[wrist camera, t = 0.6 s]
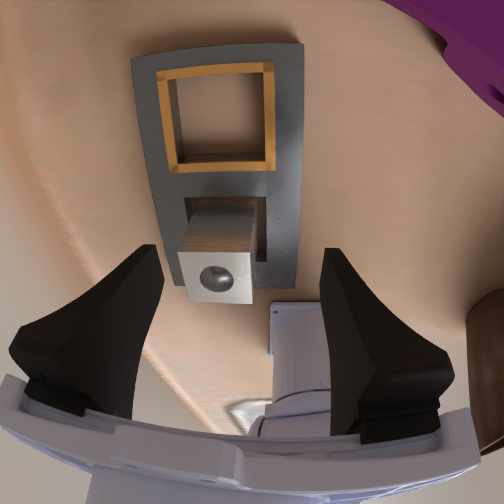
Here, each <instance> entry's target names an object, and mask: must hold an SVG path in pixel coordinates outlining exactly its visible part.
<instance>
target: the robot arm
mask: <svg viewBox="0 0 504 504" xmlns="http://www.w3.org/2000/svg"><path fill="white" fill-rule="evenodd" d="M164 280H165V279H164V275H163V272H162V268H161V264H160V260H159V256H158V253H157V249H156V245H151V244H143V245H142V246H140V247H139V248H138V249H137V250H135V251H134V252H133V253H132V254H131V255H130V256H129V257H127V258H126V259H125V260H124V261H123V262H122V263H121V264H120V265H118V266H117V267H116V268H115V269H114V270H113V271H112V272H111V273H109V274H108V275H107V276H106V277H104V278H103V279H102V280H101V281H100V282H98V283H97V284H96V285H95V286H93V287H92V288H91V289H90V290H88V291H87V292H85V293H84V294H83V295H81V296H80V297H78V298H77V299H75V300H74V301H72V302H70V303H69V304H67V305H65V306H64V307H62V308H60V309H59V310H57V311H55V312H53V313H51V314H49V315H47V316H45V317H43V318H41V319H39V320H36V321H34V322H32V323H29V324H27V325H24V326H21V327H20V328H19V330H18V332H17V334H16V336H15V337H14V339H13V341H12V343H11V345H10V347H9V354H10V356H11V357H12V359H13V360H14V361H15V363H16V364H17V365H18V366H19V367H20V368H21V369H22V370H23V371H24V372H25V374H26V375H27V376H28V377H29V378H30V379H29V381H28V383H26V382H25V381H23V380H21V379H19V378H17V377H14V376H12V375H9V374H6V375H5V377H4V379H3V382H2V384H1V386H0V427H1V428H2V429H3V430H5V431H6V432H8V433H9V434H11V435H12V436H13V437H15V438H17V439H18V440H19V441H21V442H23V443H25V444H27V445H29V446H31V447H33V448H35V449H37V450H39V451H41V452H43V453H45V454H47V455H49V456H51V457H53V458H55V459H57V460H60V461H62V462H64V463H66V464H68V465H71V466H73V467H75V468H78V469H80V470H83V471H85V472H88V473H90V474H92V478H91V483H90V487H89V491H88V495H87V500H86V504H361V503H362V502H364V501H366V500H372V499H377V498H382V497H387V496H392V495H396V494H400V493H404V492H409V491H412V490H416V489H420V488H424V487H427V486H431V485H434V484H437V483H440V482H444V481H447V480H449V479H452V478H454V477H456V476H458V475H460V474H462V473H464V472H466V471H468V470H470V469H472V468H474V467H476V466H478V465H479V464H481V456H480V451H479V446H478V441H477V437H476V432H475V428H474V424H473V420H472V416H471V412H470V409H469V408H463V409H459V410H455V411H451V412H447V413H444V414H442V415H440V416H438V411H437V409H439V408H440V402H439V397H440V396H441V395H442V394H443V393H444V392H445V391H446V390H447V388H448V387H449V386H450V385H451V383H452V382H453V380H454V377H455V374H454V371H453V367H452V364H451V361H450V358H449V356H448V354H447V352H446V351H444V350H443V349H441V348H439V347H438V346H436V345H434V344H433V343H431V342H429V341H428V340H426V339H425V338H423V337H422V336H420V335H419V334H418V333H416V332H415V331H414V330H412V329H411V328H410V327H408V326H407V325H406V324H405V323H404V322H402V321H401V320H400V319H399V318H398V317H396V316H395V315H394V314H393V313H392V312H391V311H390V310H389V309H388V308H387V307H386V306H385V305H384V304H383V303H382V302H381V301H380V300H379V299H378V298H377V297H376V295H375V294H374V293H373V292H372V291H371V290H370V288H369V287H368V286H367V285H366V284H365V282H364V281H363V280H362V278H361V277H360V276H359V275H358V273H357V272H356V271H355V269H354V268H353V266H352V265H351V264H350V262H349V261H348V259H347V258H346V257H345V255H344V254H343V252H342V251H341V250H340V248H325V252H324V259H323V265H322V272H321V278H320V284H319V286H320V302H273V303H272V304H271V305H270V359H271V360H273V388H272V404H266V405H265V415H264V416H259V417H257V418H256V420H255V421H254V423H253V424H252V426H251V427H250V429H249V432H248V436H239V435H226V434H215V433H206V432H197V431H190V430H183V429H176V428H170V427H164V426H158V425H153V424H148V423H143V422H138V421H133V420H132V408H133V398H134V390H135V383H136V377H137V372H138V366H139V361H140V357H141V352H142V348H143V345H144V341H145V338H146V336H147V333H148V330H149V328H150V325H151V322H152V320H153V317H154V314H155V312H156V309H157V306H158V304H159V301H160V297H161V293H162V289H163V285H164ZM274 310H277V311H274Z"/></svg>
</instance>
